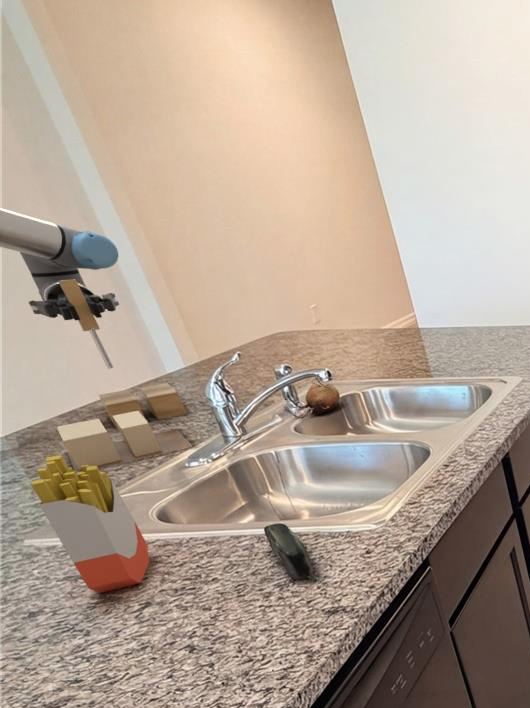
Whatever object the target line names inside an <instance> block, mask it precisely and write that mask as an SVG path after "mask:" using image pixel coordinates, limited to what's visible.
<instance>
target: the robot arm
mask: <svg viewBox="0 0 530 708" xmlns="http://www.w3.org/2000/svg"><path fill="white" fill-rule="evenodd" d="M0 248H3V249H6V250H11V251H15V252H18V253H20V255H21V257H22V259H23V261H24V264H25V265H26V266H27V269H28V270H29V273H30V275H31V277H32V280H33V281H34V284H35V285H36V288H37V289H38V294H39V296H40V298H41V300H30V301H28V304H29V306H30V308H31V310H32V313H33V314H34V315H42V316H45V317H48V318H51V319H55V318H58V317H59V316H62V318H63V320H64V321H71V320H74V321H78V320H80V317H79V315H78V313H77V311H76V309H75V307H74V306H73V305H72V304H71V303H69V301H68V299H67V297H66V295H65V293H64V291H63V289H62V287H61V285H60V283H59V281H61V280H72V279H76V281H77V283H78V285H79V287H80V289H81V291H82V293H83V295H84V297H85V299H86V301H87V304H88V306H89V308H90V310H91V312H92V314H93V316H94V318H96V319H98V318H99V319H100V318H103V316H102V314H103V313H104V312H106V311H107V312H115V311H116V307H118V306H120V303H119V300H118V298H117V296H116V294H115V293H113V292H110V293H106V294H101V296H100V295H98V294H94V292H92V290H90V289H89V288H88V287H87V286H86V284H85V282H84V279H83V277H82V275H81V273H80V271H79V269H84V270H85V269H86V270H93V271H97V270H100V269H101V270H103V269H108V268H112V267H113V266H115V264H116V263H117V262H118V260H119V250H118V248H117V246H116V244H115V243H114V242H113V241H112V240H111V239H110V238H108V237H107V236H105V235H103V234H101V233H97V232H92V231H88V230H87V231H86V230H85V231H84V230H82V231H81V230H77V229H76V230H75V229H72V228H69V227H66V226H63V225H58V224H56V223H54V222H52V221H45V220H43V219H39V218H35V217H32V216H28V215H25V214H22V213H19V212H15V211H13V210H9V209H5V208H1V207H0Z"/></svg>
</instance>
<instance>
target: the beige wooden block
mask: <svg viewBox="0 0 530 708" xmlns="http://www.w3.org/2000/svg"><path fill="white" fill-rule="evenodd" d="M112 417H113V419H114V421H115V423H116V424H117V426H118V428H117V429H118V430H119V433H120V434H121V436H122V438H123V441H125V442H126V444H127V445H128V447H129V448H130V450H131V451H132V453H133V454H134V456H135V457H137V456H142V455H146V454H150V453H155V452H159V451H162V450H161V448H160V446H159V444H158V442H157V440H156V437H155V435H154V434H155V433H154V431H153V429H152V427H151V426H150V423H149V422H148V420H147V418H146V417H145V416H144V417H145V418H144V417H143V416H142V415H141V413H140V412H139V411H134V412H129V413H124V414H119V415H114V416H112Z"/></svg>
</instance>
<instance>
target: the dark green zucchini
mask: <svg viewBox="0 0 530 708" xmlns="http://www.w3.org/2000/svg"><path fill="white" fill-rule="evenodd" d="M263 531H264V534H265V536H266V539H267V541H268V543H269V546H270V549H271V550H272V553H274V555H276V557H277V558H278V559H279V561H280V562H281V563H282V564H283V566H284V569H285V572H286V574H287V575H288V576H289V577H290V578H292V579H294V580H297V581H298V580H299V581H300V580H304V579H309V580H311V581H312V583H317V582H319V578H318V577H317V576H316V575H315V574H314V568H313V565H312V563H311V560H310V559H311V558H310V556H309V553H308V551H307V549H306V546H305V544H304V543H303V541H302V540H301V539H300V538H299V536H297V535H296V534H295V533H294V532H293V531H292V529H291V528H290V527H289V526H288V525H286V524H284V523H280V522H279V523H272V524H269V525H267V526H265V527H264V528H263Z"/></svg>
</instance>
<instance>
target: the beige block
mask: <svg viewBox="0 0 530 708" xmlns="http://www.w3.org/2000/svg"><path fill="white" fill-rule="evenodd" d="M56 429H57V431H58V434H59V436H60V438H61V440H62V442H63V445H64V446H65V448H66V449H67V451H68V453H70V455H71V457H72V459H73V460H74V462H75V464H76V466H77V468H78V470H81V469H82V468H81V466H83V465H89V466H98V465H103V464H107V463H111V462H116V461H120V460H121V458H120V456H119V454H118V452H117V450H116V448H115V446H114V444H113V443H114V442H113V439H111V436H110V434H109V432H108V431H107V429H106V428H105V426H104V424H103V423H102V422H101V420H100V418H94V419H90V420H85V421H78V422H74V423H69V424H64V425H59V426H56Z"/></svg>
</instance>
